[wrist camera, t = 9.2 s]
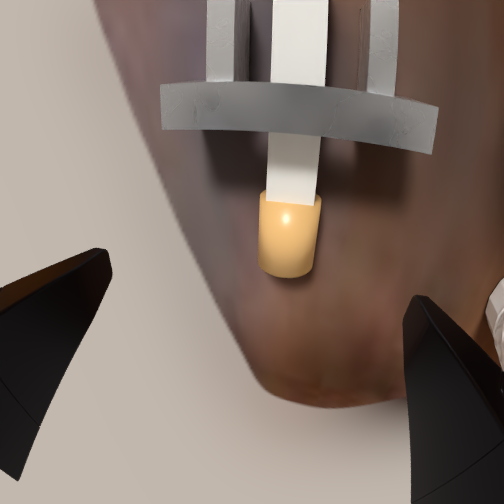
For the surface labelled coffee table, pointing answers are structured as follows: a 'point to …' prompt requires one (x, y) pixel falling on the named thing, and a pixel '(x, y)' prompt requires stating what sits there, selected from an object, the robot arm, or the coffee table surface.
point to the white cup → (497, 319)
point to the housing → (301, 88)
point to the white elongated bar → (293, 144)
